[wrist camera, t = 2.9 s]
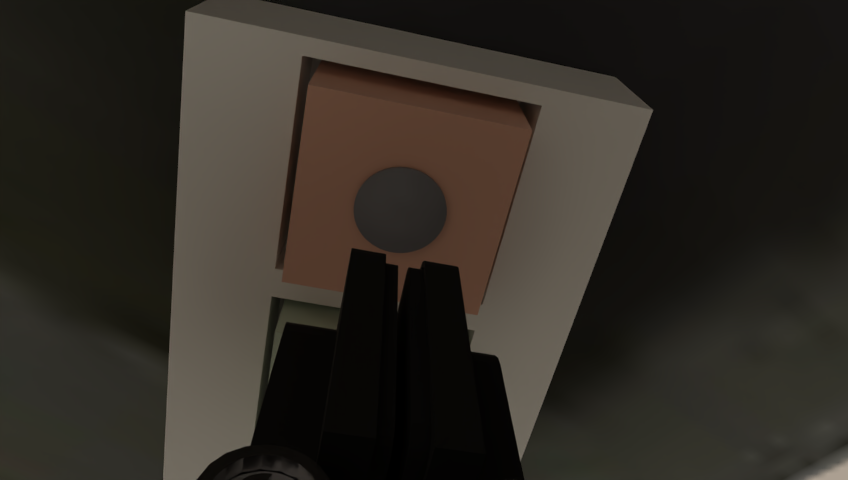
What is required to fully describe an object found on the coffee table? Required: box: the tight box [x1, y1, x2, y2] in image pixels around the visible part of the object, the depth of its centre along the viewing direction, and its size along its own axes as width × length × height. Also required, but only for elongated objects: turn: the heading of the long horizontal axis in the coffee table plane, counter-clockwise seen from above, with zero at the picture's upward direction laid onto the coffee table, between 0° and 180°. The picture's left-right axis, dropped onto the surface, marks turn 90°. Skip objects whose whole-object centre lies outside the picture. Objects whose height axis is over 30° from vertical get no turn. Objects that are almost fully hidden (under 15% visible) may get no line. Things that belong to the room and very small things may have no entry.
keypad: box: [163, 0, 653, 480], centre depth 19 cm, size 10×18×3 cm, turn 168°
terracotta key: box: [282, 60, 532, 315], centre depth 15 cm, size 5×5×2 cm
